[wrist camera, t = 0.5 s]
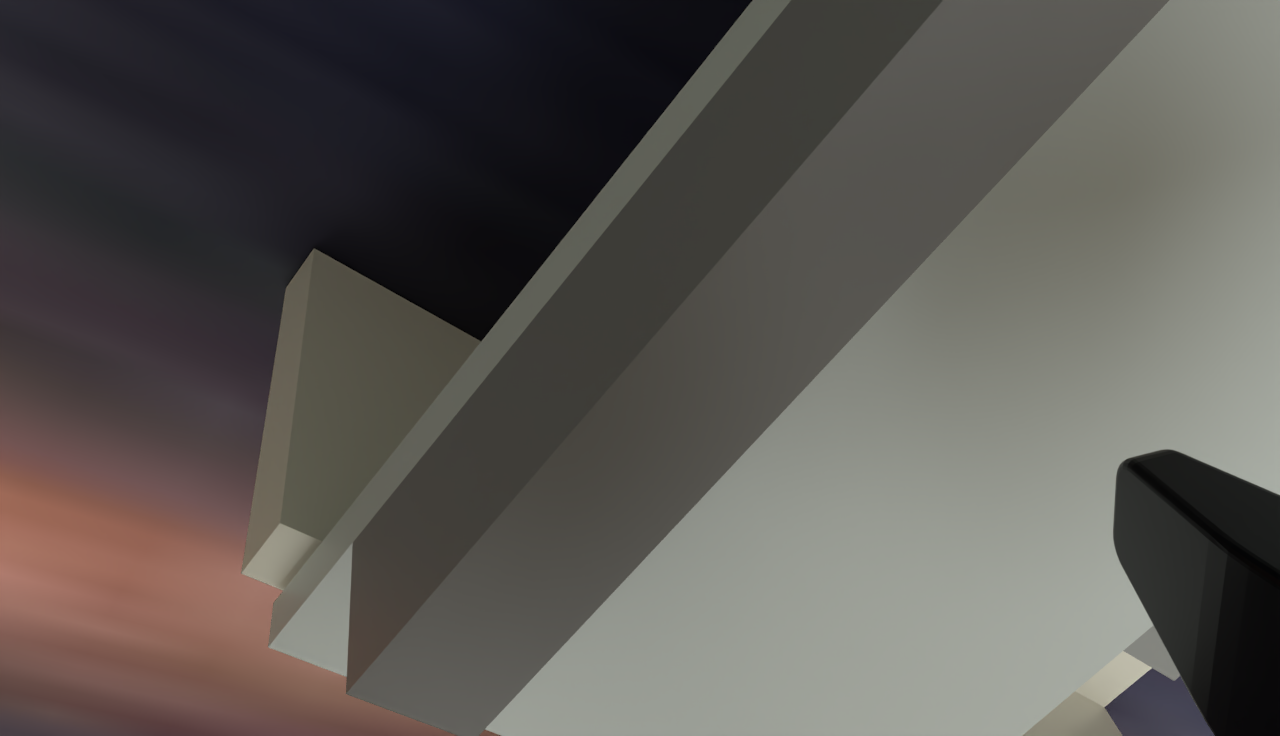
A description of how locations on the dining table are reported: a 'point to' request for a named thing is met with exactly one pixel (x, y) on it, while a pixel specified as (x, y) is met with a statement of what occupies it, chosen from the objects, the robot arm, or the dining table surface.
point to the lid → (839, 387)
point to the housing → (391, 406)
